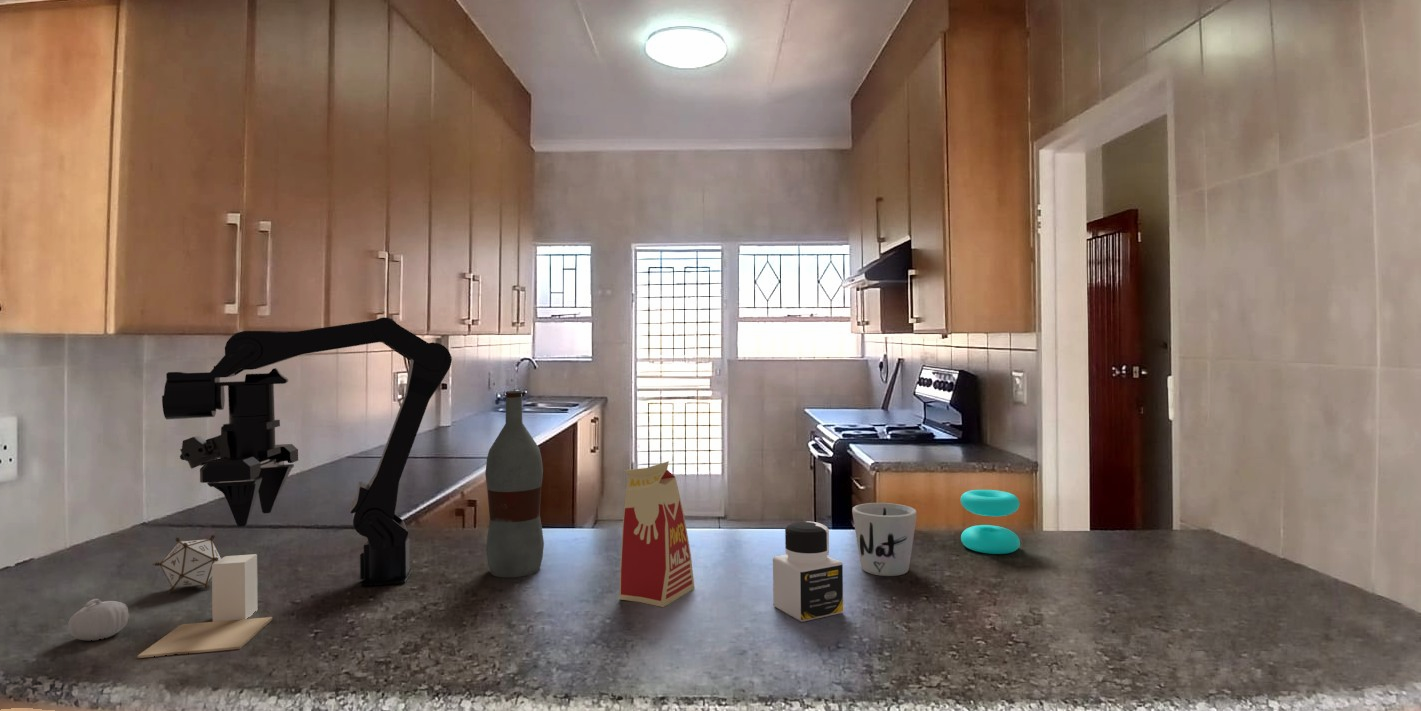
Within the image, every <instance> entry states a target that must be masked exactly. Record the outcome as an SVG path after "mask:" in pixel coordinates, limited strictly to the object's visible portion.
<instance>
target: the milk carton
mask: <svg viewBox="0 0 1421 711" xmlns="http://www.w3.org/2000/svg"><path fill="white" fill-rule="evenodd" d="M668 466H669V461H666V462H662V463H661V462H660V463H658V464H655V465H652V466H649V467H641V468H640V467H639V468H633V469H624V470H623V471H624V472H625V473H626V474H628V476H627V481H626V482H627V483H626V487H625V498H624V499H625V500H624V508H623V518H622V530H621V531H622V532H621V547H620V549H621V550H620V562H619V563H620V566H619V596H618V598H619V600H621V601H622V600H623V601H628V602H629V601H631V602H637V603H643V604H647V605H651V606H657V607H661V608H664V607H666V606H668V605H669V604H672V603H673V602H674V601H676V600H678V599H680V598H681V597H683V596H684V595H686V594H688V593H689V592H691V591H692V590H694V589H695V581H694V580H695V579H694V570H693V563H692V562H693V561H692V553H691V548H690V543H689V542H690V541H689V536H688V529H687V523H686V517H685V513H684V508H683V504H682V501H681V500H682V499H681V497H680V496H681V495H680V492H679V487H678V483H677V478H676V476H675V475H674V474H673V473H672V472H671V471H670V470H668Z"/></svg>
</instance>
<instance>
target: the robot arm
mask: <svg viewBox="0 0 1421 711" xmlns="http://www.w3.org/2000/svg"><path fill="white" fill-rule="evenodd" d="M378 343H382V344H383V345H385V346H386V347H388V348H389V349H391V350H392V351H394V352H396V353H397V354H399V355H401V357H403V358H405V359H407V360H408V361H409V365H408V372H407V377H406V378H407V379H406V386H405V387H406V388H405V393H404V397H403V398H402V401H401V404H400V407H399V410H398V412H397V415H396V417H395V420H394V423H393V425H392V427H391V430H390V433H389V436H388V438H387V441H386V443H385V446H384V449H383V452H382V454H381V457H380V460H379V463H378V464H377V468H376V470H375V473H374V474H373V476H372V477H371V479H370V480H369V481H368V483H365V482H363V481H359V482H358V485H357V490H356V494H355V497H354V499H353V501H351V503H350V504H349V509H350V510H349V511H350V514H352V526H353V528H354V529H355V531H356V532H357V533H358V534H359V535H360V536H362V537H365V538H367V540H366V542H365V543H364V544H363V551H362V552H361V553H360V554H359V579H360V580H362V581H361V582H360V587H368V586H385V585H394V584H397V585H398V584H404V583H406V581H407V580H408V579H409V577H410V575H411V574H412V572H413V568H410V564H411V563H410V537H408V536H409V531H408V528H407V526H406V523H405V520H404V519H402V518H401V517H399V516H398V515H397V514H396V513H395V512H396V508H397V501H398V495H399V494H398V493H399V486H400V480H401V478H402V475H403V472H404V469H405V466H406V464H407V461H408V458H409V456H410V453H411V450H412V448H413V445H414V442H415V439H416V437H417V433H418V432H419V429H420V426H421V423H422V422H423V418H424V415H425V413H426V410H427V407H428V406H429V402H430V400H431V399H432V397H433V395H434V394H435V393H436V391H437V390H438V388H439V387H440V385H441V384H442V382H443V380H444V378H445V376H446V375H447V373H448V371H449V370H450V368H451V367H452V363H453V362H452V361H453V358H452V354H451V353H450V351H449V349H448V348H447V347H446V346H445V345H443V344H441V343H438V342H433V341H432V342H427V341H425V340H424V339H423V338H421V337H420V336H418V335H417V334H414V333H413V332H411V331H409V330H408V329H406V328H405V327H403V326H401V325H400V324H398V323H397V322H396V321H395V320H394V319H393V318H390V317H384V316H383V317H379V318H376V319H374V320H367V321H360V322H353V323H348V324H347V323H346V324H340V325H332V326H326V327H325V326H324V327H319V328H318V327H317V328H312V329H306V330H305V329H304V330H298V331H295V330H294V331H287V330H286V331H285V330H284V331H283V330H282V331H280V330H243V331H239V332H236V333H234V334H232V335H231V336H230V338H228V339H227V341H226V343H225V347H224V355H223V357H222V358H221V359H220V360H219V361H218V363H216V365H214V366H213V369H211V371H210V372H208V371H207V372H183V371H168V372H167V373H166V381H165V382H164V383H165V384H164V389H163V395H161V396H162V397H161V404H162V412H163V416H164V419H165V420H166V421H168V420H180V419H181V420H182V419H184V420H185V419H200V418H201V419H202V418H205V419H206V418H215V416H216V415H217V410H218V411H223V410H224V409H225V400H226V397H225V395H226V394H225V386H226V387H227V391H228V392H227V394H228V395H227V396H228V400H227V401H228V423H224V424H222V426H221V427H220V434H219V435H217V436H216V435H215V436H214V437H210V438H207V439H204V438H203V437H202V436H200V435H196V436H192V437H189V438H187V439H184V440H182V443H181V448H180V449H179V451H180V452H181V454H180V455H179V459H180V460H182V461H186V462H188V464H189V468H190V469H191V470H192V469H194V468H197V467H200V466H201V467H200V468H199V483H203V484H205V483H206V484H207V486H208V487H210V488H215V489H216V490H218V491H219V492H221V493H222V494H223V496H224V497H225V499H226V501H227V504H228V506H229V508H230V511H231V514H232V517H233V519H234V521H235V524H236V526H237V527H238V528H239V527H246V526H247V525H248V523H249V520H250V518H251V514H252V513H253V512H252V511H253V509H254V505H255V502H256V499H257V495H258V499H259V505H260V508H261V512H262V514H270V513H272V511H273V510H274V507H275V504H276V502H277V500H278V498H279V496H280V494H281V491H282V489H283V487H284V485H285V483H286V481H287V480H288V477H289V475H290V473H291V471H292V469H293V468H294V466H295V464H293V463H296V462H298V461H299V448H297V447H296V446H295V445H294V444H292V443H284V444H283V443H281V444H276V428H278V427H281V421H280V420H281V419H276V418H275V415H276V414H275V389H274V388H275V386H274V385H282V384H287V383H288V382H289V379H288V378H287V377H285V376H284V375H283V374H281V372H280V371H279V369H278V368H277V367H275V368H272V369H271V371H269V372H268V373H267V372H266V373H246V374H245V377H244V380H237V381H221V378H230V377H235V376H237V375H238V374H240V373H241V372H243V371H246V370H249V371H252V370H258V369H262V368H265V367H268V366H271V365H272V366H273V365H275V364H278V363H280V362H285V361H287V360H289V359H292V358H295V357H299V356H301V355H307V354H314V353H319V352H321V353H322V352H326V351H332V350H333V351H334V350H339V349H345V348H351V347H358V346H363V345H370V344H378ZM285 462H287V464H286V463H285Z"/></svg>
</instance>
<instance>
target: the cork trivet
mask: <svg viewBox="0 0 1421 711" xmlns="http://www.w3.org/2000/svg"><path fill="white" fill-rule="evenodd" d="M272 620H273V616H267V617H254V618H248V619H241V620H229V621H216V622H213V621H207V622H205V621H204V622H195V623H183V624H180V625H178V626H177V627H175V628H174V629H173V630H172V631H170V632H169V633H167V634H166V635H165V636H163V637H161V639H159V640H158V641H156V642H155V643H153V644H152V645H150V646H149V647H148V648H146V649H145V650H143V651H142V652H141V653H139V654H138V655H137V659H142V658H143V659H144V658H153V657H154V656H155V657H165V655H167V656H175V655H174V654H178V655H187V654H188V653H189V654H197V653H198V654H199V653H200V654H201V653H209V652H221V651H222V652H223V651H233V650H241V649H242V648H243V647H244V646H245V645H246V644H247V643H249V641H251V640H252V638H254V637H255V636H256V635H257V634H258V633H259V632H260V631H261V630H262V629H263V628H264V627H266V626H267V624H269V623H270V622H271V621H272Z"/></svg>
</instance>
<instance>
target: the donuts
mask: <svg viewBox="0 0 1421 711" xmlns="http://www.w3.org/2000/svg"><path fill="white" fill-rule="evenodd" d="M960 504H961V506H962V507H963V508H964V509H965V510H966V511H968V512H970V513H972V514H974V515H979V516H984V517H1004V516H1009V515H1013V514H1014V513H1015V512H1017V511H1018V509H1019V508H1020V506H1021V505H1020V504H1021V503H1020V500H1019V498H1018V497H1017V496H1016V495H1015V494H1013V493H1011V492H1007V491H1005V490H1004V491H1002V490H996V489H970V490H968V491H965V492H963V493H962V494H961V496H960ZM960 540H961V543H962V545H963V546H965V548H967V549H969V550H972V551H974V552H977V553H983V554H990V555H991V554H992V555H1005V554H1011V553H1014V552H1016V551H1017V550H1019V548H1020V545H1021V541H1020V537H1019V536H1018V534H1016V533H1015V532H1014V531H1012V530H1011V529H1008V528H1006V527H1002V526H998V525H991V524H980V525H979V524H978V525H972V526H970V527H967V528H965V529H964V530H963V531H962V533H961V535H960Z"/></svg>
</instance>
